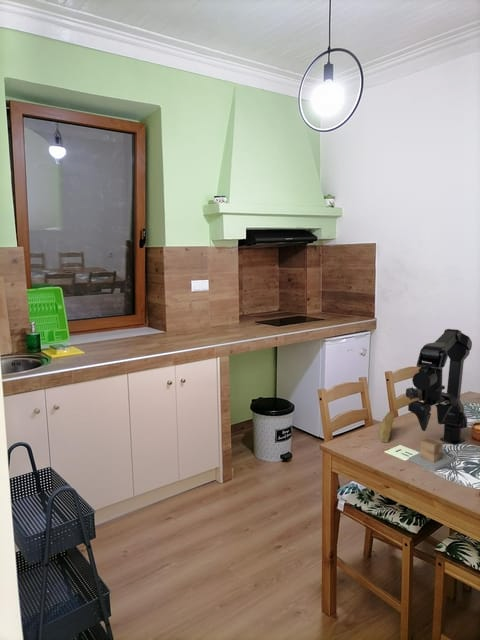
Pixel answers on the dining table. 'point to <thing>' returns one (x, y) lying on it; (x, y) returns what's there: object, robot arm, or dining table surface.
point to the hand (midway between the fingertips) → (431, 427)
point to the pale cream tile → (401, 452)
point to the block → (431, 450)
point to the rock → (386, 427)
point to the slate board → (430, 465)
